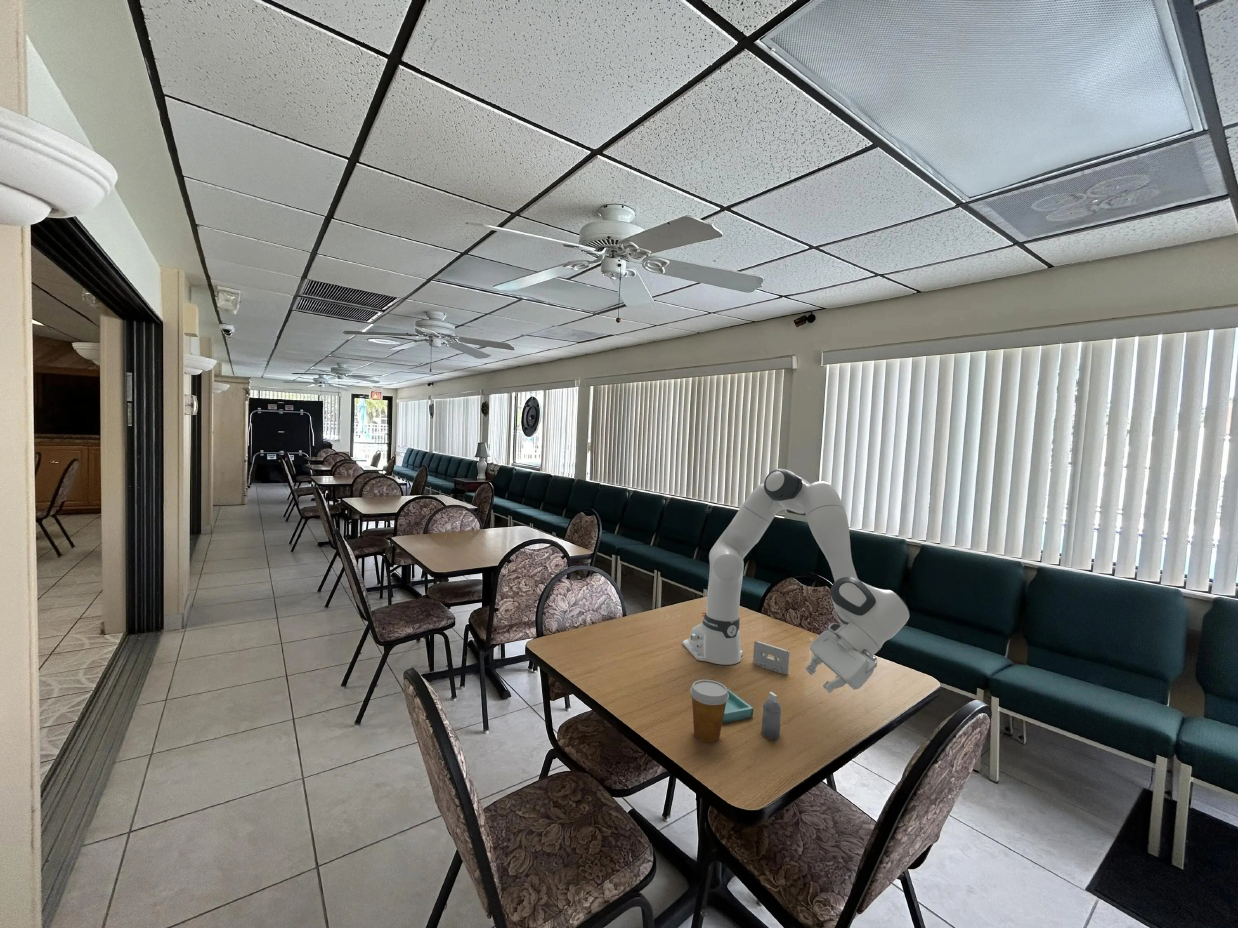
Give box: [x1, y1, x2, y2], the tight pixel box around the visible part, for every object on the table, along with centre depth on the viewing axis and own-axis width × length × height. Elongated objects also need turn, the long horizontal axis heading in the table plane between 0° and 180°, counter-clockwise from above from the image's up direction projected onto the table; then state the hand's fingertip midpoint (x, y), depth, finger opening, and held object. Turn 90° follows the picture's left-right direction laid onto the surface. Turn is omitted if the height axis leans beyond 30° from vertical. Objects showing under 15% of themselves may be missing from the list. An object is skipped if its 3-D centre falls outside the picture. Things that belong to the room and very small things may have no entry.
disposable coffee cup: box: [689, 679, 729, 743], centre depth 124 cm, size 10×10×12 cm
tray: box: [722, 688, 754, 724], centre depth 137 cm, size 12×10×2 cm
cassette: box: [752, 640, 790, 675], centre depth 166 cm, size 12×2×8 cm, turn 50°
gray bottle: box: [761, 691, 782, 740], centre depth 126 cm, size 4×4×10 cm
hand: (816, 680), depth 126 cm, fingers open, 8 cm apart
